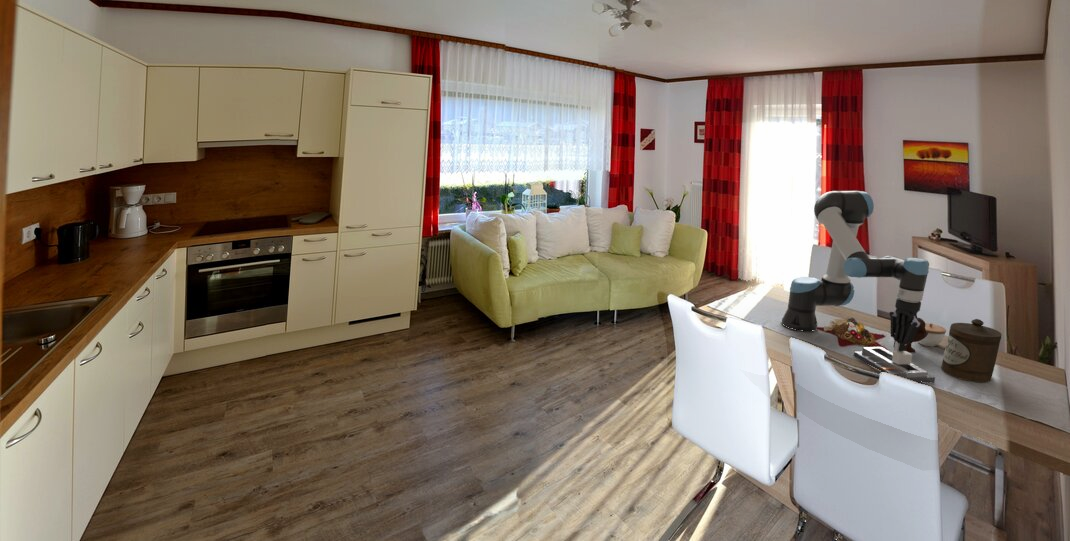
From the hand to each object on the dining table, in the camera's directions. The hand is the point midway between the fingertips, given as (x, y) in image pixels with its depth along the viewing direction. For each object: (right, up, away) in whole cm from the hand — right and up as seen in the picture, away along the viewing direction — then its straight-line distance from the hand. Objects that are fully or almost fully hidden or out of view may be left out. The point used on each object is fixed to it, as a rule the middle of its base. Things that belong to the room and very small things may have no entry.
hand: (897, 357), depth 191 cm
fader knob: (0, -4, -1) cm, 4 cm away
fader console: (0, -5, +3) cm, 6 cm away
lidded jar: (+32, +1, +26) cm, 42 cm away
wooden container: (+25, -6, -1) cm, 26 cm away
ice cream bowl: (+19, 0, +20) cm, 27 cm away
